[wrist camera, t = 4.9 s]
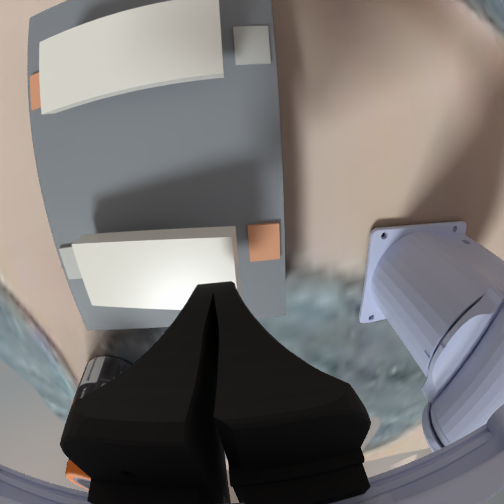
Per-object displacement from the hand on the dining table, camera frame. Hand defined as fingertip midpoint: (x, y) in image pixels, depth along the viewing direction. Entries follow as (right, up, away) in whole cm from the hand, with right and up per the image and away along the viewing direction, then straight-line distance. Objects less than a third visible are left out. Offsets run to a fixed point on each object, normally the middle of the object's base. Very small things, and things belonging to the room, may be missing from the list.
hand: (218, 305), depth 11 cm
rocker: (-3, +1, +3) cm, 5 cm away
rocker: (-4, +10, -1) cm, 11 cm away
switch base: (-4, +8, +5) cm, 10 cm away
